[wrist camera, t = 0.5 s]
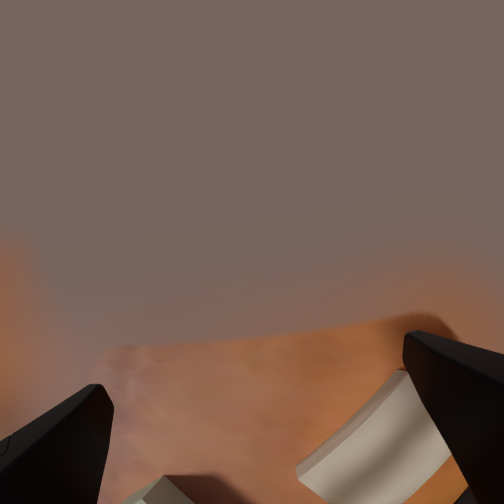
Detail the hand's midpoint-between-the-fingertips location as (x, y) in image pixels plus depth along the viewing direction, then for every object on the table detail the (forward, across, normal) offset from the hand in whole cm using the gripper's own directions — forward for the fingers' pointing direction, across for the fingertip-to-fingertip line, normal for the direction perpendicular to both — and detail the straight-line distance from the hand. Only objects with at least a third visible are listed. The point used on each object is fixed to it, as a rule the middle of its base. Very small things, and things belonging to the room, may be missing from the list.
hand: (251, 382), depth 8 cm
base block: (+7, -8, +16) cm, 20 cm away
